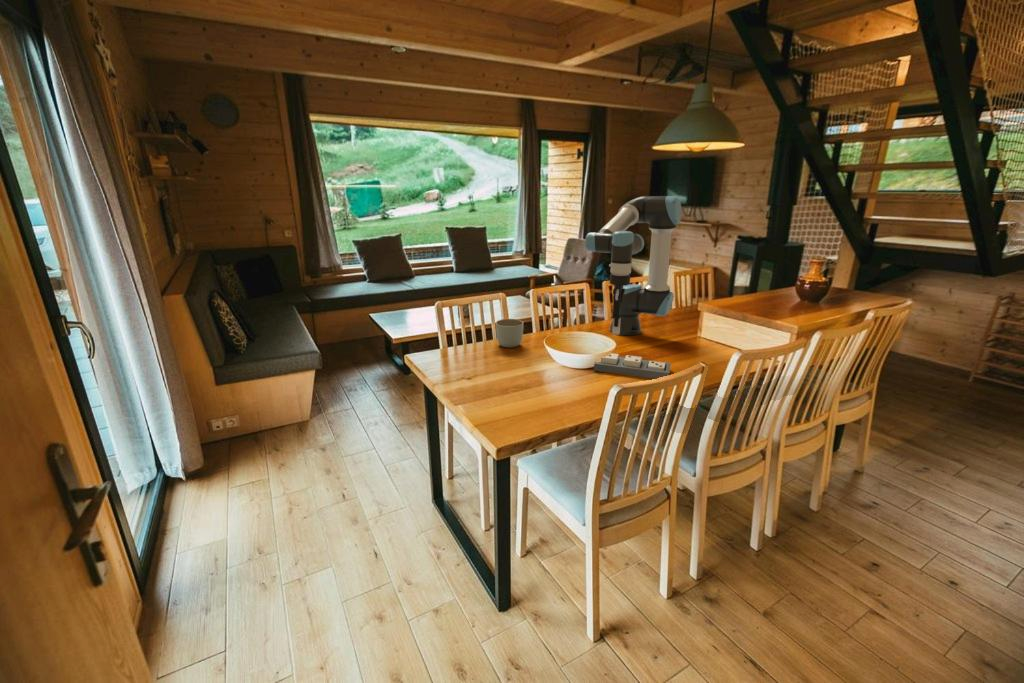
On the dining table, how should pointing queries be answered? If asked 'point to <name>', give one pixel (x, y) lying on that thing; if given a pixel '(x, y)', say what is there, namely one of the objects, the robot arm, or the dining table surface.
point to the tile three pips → (656, 365)
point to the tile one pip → (610, 359)
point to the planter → (509, 332)
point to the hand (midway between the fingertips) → (615, 333)
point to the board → (632, 369)
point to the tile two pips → (632, 361)
